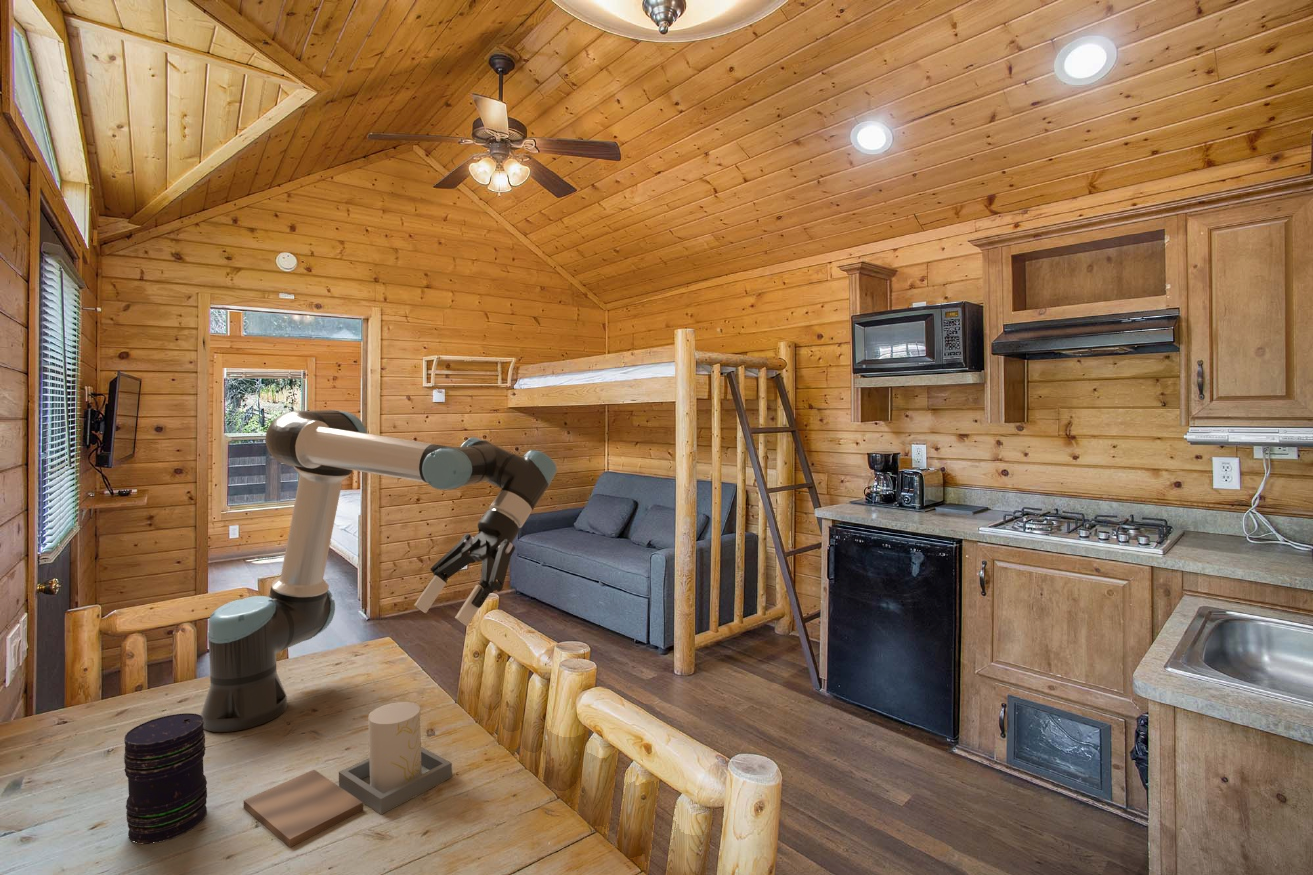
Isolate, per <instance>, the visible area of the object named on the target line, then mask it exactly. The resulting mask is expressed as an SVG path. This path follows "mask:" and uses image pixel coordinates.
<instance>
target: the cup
mask: <svg viewBox="0 0 1313 875" xmlns="http://www.w3.org/2000/svg"><path fill="white" fill-rule="evenodd" d="M367 716H368V717H367V718H368V720H367V722H368V757H369V762H370V775H369V785H370V786H372V787H373V788H375V789H376V790H378V791H380V792H381V793H383V794H384V793H386V792H388V791H390V790H392V789H394V788H396V787H398V786H400V785H402V784H404V783H406V782H408V781H410V780H412V779H414V778H416V777H417V776H419V775H421V774H423V773H422V772H423V771H422V765H421V747H422V740H421V739H422V734H421V732H422V731H421V730H422V729H421V706H420V705H419V704H417V703H416V702H411V701H397V702H392V703H388V704H387V703H386V704H384V705H381V706H379V707H377V708H375V709H373V710H371V712H370V713H369V714H368V715H367Z"/></svg>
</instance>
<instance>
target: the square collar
mask: <svg viewBox="0 0 1313 875" xmlns="http://www.w3.org/2000/svg"><path fill="white" fill-rule="evenodd" d="M421 767H424V768H425V769H427V770H428V771H425V772H424V773H422V774H421V775H419V776H417V777H416V778H414V779H412V780H410V781H408V782H406V783H404V784H402V785H400V786H398V787H396V788H394V789H392V790H390V791H388V792H386V793H384V794H383V793H381V792H380V791H378V790H376V789H375V788H373V787H372V786H370V783H367V782H365V781H364V780H362V779H365V778H368V777H370V762H369V758H366V759H363V760H362V761H359V762H357V763H355V764H352V765H351V766H349V767H346V768H344V769H342V770H340V771H338V786H339V787H341V788H342V789H344V790H345V791H347V792H348V793H350V794H351V795H353V796H354V797H356V798H357V799H359V800H360V801H362V802H363V805H366V806H367V807H369V808H370V809H371V810H373V811H374V812H377V813H378V814H379V815H383V814H385V813H387V812H389V811H391V810H393V809H394V808H396V807H399V806H400V805H402V804H404V803H406V802H408V801H410V800H411V799H413V798H415V797H417V796H419V795H422V794H423V793H425V792H426V791H428V790H430V789H432V788H434V787H436V786H438V785H440V784H442V783H444V782H445V781H447V780H449V779H451V778H452V777H453V763H452V761H449V760H447V759H445V758H443V757H442V756H440V755H438V754H436V753H434V752H432V751H430V750H428V749H426V748H425V747H422V746H421Z"/></svg>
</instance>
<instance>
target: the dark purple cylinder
mask: <svg viewBox="0 0 1313 875" xmlns="http://www.w3.org/2000/svg"><path fill="white" fill-rule="evenodd" d="M203 725H204V721H203V717H202V716H201V714H198V713H192V712H190V713H188V712H186V713H185V712H184V713H177V714H176V713H175V714H169V715H165V716H160V717H157V718H153V719H151V720H148V721H145V722H143V723H141V724H138V725H137V726H135V727H133V728H131V729H130V730H129V731H127V733H125V735H124V755H123V759H124V760H123V761H124V773H125V776H126V778H127V784H128V785H127V787H128V790H127V791H128V796H127V798H126V804H125V809H126V813H125V814H126V822H127V828H128V833H127V834H128V836H129V837H128V840H129V839H130V840H132V841H135V842H137V843H153V842H159V841H163V840H166V841H169V840H173V839H175V838H177V837H179V836H182V835H184V834H186V833H188V832H189V831H191V830H193V829H194V828H196V827H198V826H199V824H201V823H202V822H203V821H204V820H205V818H206V816H207V813H208V810H207V809H208V808H207V798H208V787H207V784H208V782H207V777H206V775H205V773H204V756H205V754H206V750H207V749H206V748H207V747H206V745H205V744H206V734H205V729H204V727H203ZM130 840H129V841H130ZM163 842H164V841H163ZM159 843H160V842H159ZM153 844H154V843H153Z"/></svg>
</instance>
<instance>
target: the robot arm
mask: <svg viewBox="0 0 1313 875" xmlns="http://www.w3.org/2000/svg"><path fill="white" fill-rule="evenodd" d="M265 444H266V448H267V451H268V452H269V454H270V455H271V457H273V458H274V459H275V460H276V461H277V462H279V463H281V464H284V465H285V466H290V467H293V469H294V470H295V471H296V472H297V473H298V475H299V478H298V483H297V490H296V494H295V499H294V500H295V501H294V503H293V504H294V505H293V508H292V509H293V510H292V515H291V521H290V527H289V531H288V536H287V542H286V548H285V553H284V558H283V562H282V566H281V567H282V569H281V573H280V576H278V577H277V578H276V579H274V580H272V582H271V585H270V590H269V596H266V595H255V596H249V597H247V596H246V597H244V598H242V599H240V598H239V599H236V600H233V601H229V602H227V603H225V604H223V605H221V606H219V607H218V608H216V609H215V610H214V611H213V612H212V613H211V614H210V617H209V619H208V631H207V639H208V654H209V655H208V656H209V679H210V686H209V688H208V691H207V694H206V698H205V700H204V704H203V707H202V710H201V712H200V715H201V716H202V717H203V721H204V725H203V727H204V731H205V730H206V731H208V732H214V733H229V732H236V731H237V732H239V731H242V730H247V729H251V728H255V727H257V726H261V725H263V724H266V723H268V722H270V721H273V720H274V719H276V718H278V717H280V716H281V715H282V714H283V713H285V711H286V710H287V708H288V696H287V693H286V691H285V688H284V686H283V684H282V682H281V679H280V677H279V675H278V671H277V669H278V668H277V654H278V653H280V652H282V651H284V650H286V649H289V648H291V647H293V646H296V645H298V644H300V643H302V642H305V641H309V640H311V639H312V638H314V637H316V636H318V635H319V634H321V633H322V632H324V631H325V630H326V629H327V628H328V627H329V626H330V624H331V623H332V621H333V618H334V617H335V616H334V615H335V612H336V602H335V599H333V594H332V592H331V591H330V590H329V587H330V585H329V584H328V583H327V582H326V580H325V579H324V576H325V570H326V565H327V560H328V555H329V550H330V545H331V541H332V540H331V539H332V535H333V529H334V525H335V521H336V514H337V510H338V506H339V501H340V493H341V490H342V485H343V484H342V483H343V481H344V480H345V479H346V478H348V477H350V476H351V475H352V471H356V472H362V473H366V474H367V473H368V474H375V475H381V476H385V477H392V478H397V479H398V478H399V479H403V480H410V481H415V482H420V483H427V484H428V485H429V486H431V487H432V488H433V489H436V490H440V491H441V490H448V491H449V490H456V489H459V488H461V487H467V486H470V485H471V486H472V485H476V484H479V483H483V482H485V483H489V484H490V485H493V486H495V487H497V488H499V489H501V490H500V491H499V492H498V494H497V495H496V496H495V498H494V500H493V501H492V502H491V504H490V505H489V507H488V508H489V510H485V512H484V514H483V516H482V517H481V518H480V520H479V521H478V523H477V528H478V532H477V534H476V535H475V536H472V535H471V534H470V533H466V534H464V535H463V537H462V538H461V539H460V540H459V541H458V543H456V545H454V546H453V547H452V548H451V549H449V550H448V552H447V553H445V554H444V555H443V556H442V557H441V558H440V559H439V560H438V561H436V563H434V564H433V565H432V566H431V567H430V572H432V574H433V577H432V578H431V579H430V581H429V582H428V584H427V585H426V586H425V588H424V590H423V591H422V593H421V594H420V596H419V597H418V599H417V600H416V602H415V603H414V604H413V606H414V607H416V608H417V609H418V610H420V611H421V612H423V613H425V614H427V612H429V609H430V608H431V607H432V606H433V604H434V602H435V601H436V599H437V598H438V597H439V595H440V594H441V592H442V590H443V589H444V588H445V586H446V585H447V583H448V581H447V580H448V579H450V577H452V576H453V575H455V574H457V573H458V572H460V571H461V570H462V569H463V568H465V567H466V566H467V565H469V564H474V563H476V562H477V563H479V562H481V574H480V581H478V582H477V584H476V585H475V586H474V588H473V590H472V591H471V592H470V593H469V595H468V597H467V598H466V599H465V602H464V603H463V604H462V606H461V607H460V609H459V611H458V612H457V614H456V615H455V617H454V618H455V619H456V620H457V621H458V622H460V623H461V624H462V625H464V626H466V627H468V626H469V625H470V623H471V621H472V620H473V618H474V617H475V615H476V614H477V612H478V611H479V609H480V608H482V606H483V604H484V602H485V601H486V600H487V598H488V597H489V595H490V594H493V593H494V591H497V592H499V593H500V592H501V591H502V590H503V588H504V584H505V580H506V576H507V572H508V568H509V564H510V562H511V561H510V560H511V557H512V555H513V554H514V551H515V550H516V546H515V545H513V544H512V543H513V542H514V540H515V539H516V537H517V536H518V534H519V532H520V529H521V528H523V526H524V525H525V523H526V521H527V520H528V518H529V516H530V514H531V513H532V512H533V511H534V509H535V507H536V506H537V505H538V503H539V501H540V500H541V498H542V497H543V495H544V494H545V492H546V491H547V490H548V489H549V487H550V485H551V483H552V481H553V479H554V477H555V476H556V474H557V472H558V469H557V464H556V463H555V461H554V460H553V459H552V458H551V457H550V456H549V455H547V454H546V453H544V452H543V451H540V450H535V449H530V450H529V451H527V452H526V453H525V454H524V455H523V456H521V455H518V454H515V453H513V452H511V451H508V450H506V449H503V448H501V447H499V446H497V445H495V444H493V443H491V442H490V441H489V440H487V439H486V440H483V439H481V438H478V437H469V438H468V439H467V440H466V441H464V442H463V443H462V444H461V445H460V446H449V445H445V444H444V445H442V444H436V443H429V442H422V441H417V440H410V439H403V438H398V437H393V436H391V437H390V436H385V435H379V434H371V433H368V431H367V428H366V426H365V425H364V424H363V422H362V420H361V419H360V418H359V417H358V416H356V415H355V414H353V413H351V412H349V411H343V410H335V409H329V410H326V409H325V410H292V411H287V412H285V413H283V414H280V415H279V416H277V417H276V418H275V419H273V421H272V422H271V423H270V424H269V426H268V427H267V429H266V433H265Z"/></svg>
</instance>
